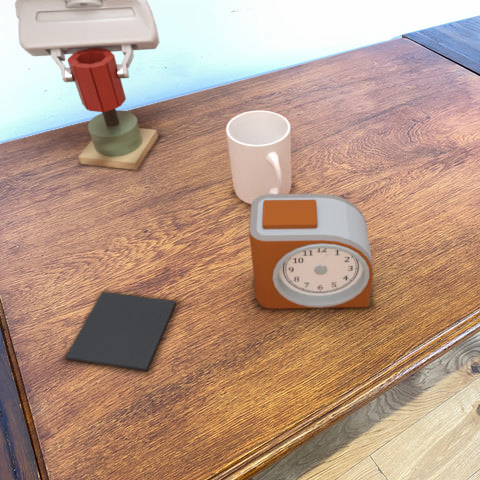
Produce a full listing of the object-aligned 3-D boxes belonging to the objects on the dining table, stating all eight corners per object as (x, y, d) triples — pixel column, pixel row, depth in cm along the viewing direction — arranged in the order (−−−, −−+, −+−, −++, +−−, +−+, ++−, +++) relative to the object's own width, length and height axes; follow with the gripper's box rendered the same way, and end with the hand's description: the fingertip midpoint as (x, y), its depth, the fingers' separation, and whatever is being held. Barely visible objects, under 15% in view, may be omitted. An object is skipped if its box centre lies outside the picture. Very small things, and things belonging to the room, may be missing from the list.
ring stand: (80, 163, 87) (58, 106, 79) (106, 131, 94) (88, 75, 86) (137, 170, 86) (120, 113, 79) (158, 136, 93) (145, 81, 86)
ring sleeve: (76, 109, 82) (60, 65, 76) (94, 89, 86) (80, 46, 81) (114, 113, 81) (101, 69, 76) (130, 93, 85) (119, 50, 80)
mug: (267, 163, 88) (263, 103, 80) (314, 197, 82) (315, 136, 74) (222, 187, 84) (213, 125, 75) (268, 225, 78) (264, 163, 69)
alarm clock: (255, 311, 66) (246, 238, 57) (258, 262, 72) (251, 189, 63) (368, 309, 67) (379, 236, 57) (362, 260, 73) (371, 187, 63)
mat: (66, 359, 61) (65, 357, 61) (103, 294, 68) (102, 291, 68) (147, 371, 60) (146, 368, 60) (176, 304, 67) (175, 301, 67)
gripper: (4, -17, 75) (17, 77, 75) (148, -23, 78) (160, 68, 79) (22, 2, 81) (33, 89, 82) (155, -4, 84) (165, 80, 85)
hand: (96, 79), depth 80 cm, fingers closed on ring sleeve, 7 cm apart
